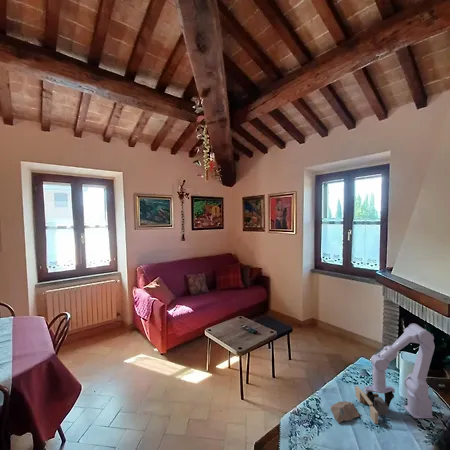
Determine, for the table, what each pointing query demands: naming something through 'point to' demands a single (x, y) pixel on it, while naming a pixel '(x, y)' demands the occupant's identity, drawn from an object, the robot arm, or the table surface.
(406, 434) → the table surface
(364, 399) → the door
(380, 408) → the grey rectangular block
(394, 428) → the table surface
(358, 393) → the wall frame
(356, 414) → the concrete fragment
